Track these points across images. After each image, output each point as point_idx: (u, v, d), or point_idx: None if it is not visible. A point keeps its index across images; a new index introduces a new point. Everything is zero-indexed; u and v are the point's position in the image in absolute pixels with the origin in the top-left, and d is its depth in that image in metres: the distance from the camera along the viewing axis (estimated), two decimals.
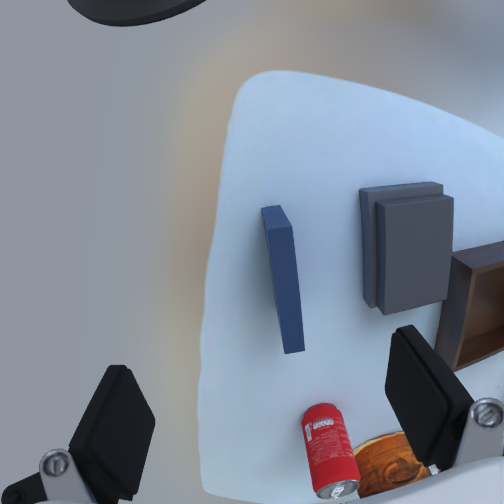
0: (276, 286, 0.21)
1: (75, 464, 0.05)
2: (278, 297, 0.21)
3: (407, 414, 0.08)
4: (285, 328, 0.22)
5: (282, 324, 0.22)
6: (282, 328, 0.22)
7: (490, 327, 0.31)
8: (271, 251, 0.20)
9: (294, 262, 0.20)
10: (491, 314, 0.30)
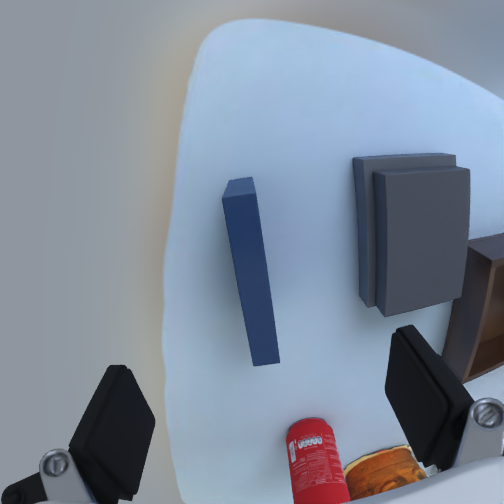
0: (237, 277, 0.15)
1: (75, 464, 0.05)
2: (240, 292, 0.16)
3: (407, 414, 0.08)
4: (252, 333, 0.17)
5: (248, 328, 0.17)
6: (248, 333, 0.17)
7: None
8: (228, 228, 0.15)
9: (260, 244, 0.15)
10: None
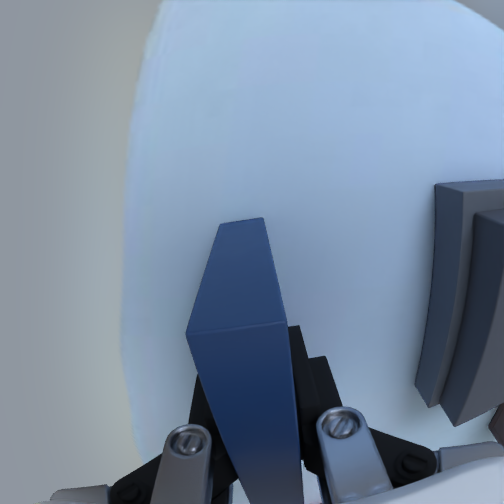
0: (235, 466, 0.06)
1: (210, 450, 0.06)
2: (243, 481, 0.06)
3: None
4: None
5: None
6: None
7: None
8: (210, 398, 0.05)
9: (291, 423, 0.05)
10: None
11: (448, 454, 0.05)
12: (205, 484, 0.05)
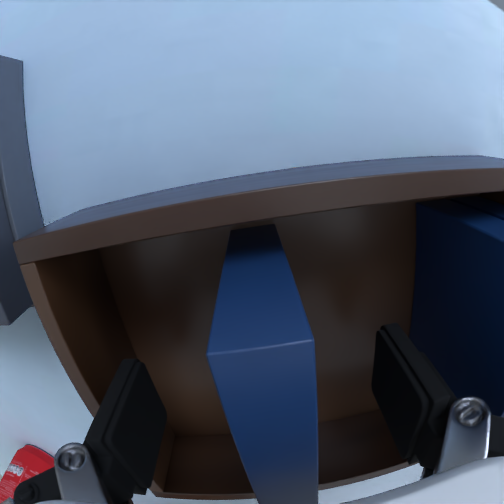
0: (252, 481, 0.06)
1: (91, 459, 0.06)
2: (258, 495, 0.06)
3: (391, 411, 0.08)
4: None
5: None
6: None
7: (338, 413, 0.14)
8: (229, 417, 0.05)
9: (312, 439, 0.05)
10: (329, 387, 0.13)
11: None
12: (100, 487, 0.05)
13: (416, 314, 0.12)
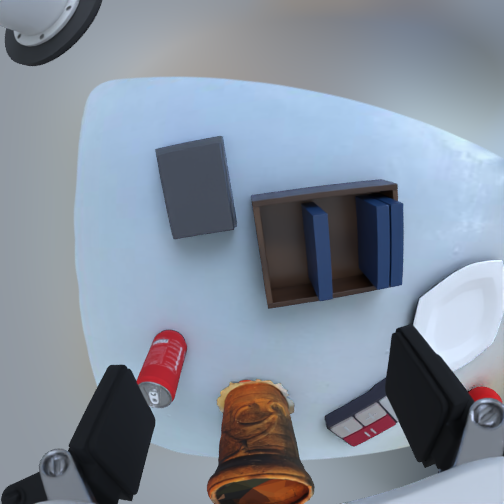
0: (316, 252, 0.33)
1: (75, 464, 0.05)
2: (317, 259, 0.33)
3: (407, 414, 0.08)
4: (320, 281, 0.34)
5: (319, 278, 0.33)
6: (319, 281, 0.34)
7: (335, 275, 0.41)
8: (314, 229, 0.32)
9: (328, 236, 0.32)
10: (331, 261, 0.40)
11: None
12: (85, 491, 0.05)
13: (358, 232, 0.39)
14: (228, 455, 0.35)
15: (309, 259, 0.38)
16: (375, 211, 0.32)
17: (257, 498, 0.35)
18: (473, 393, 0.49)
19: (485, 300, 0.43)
